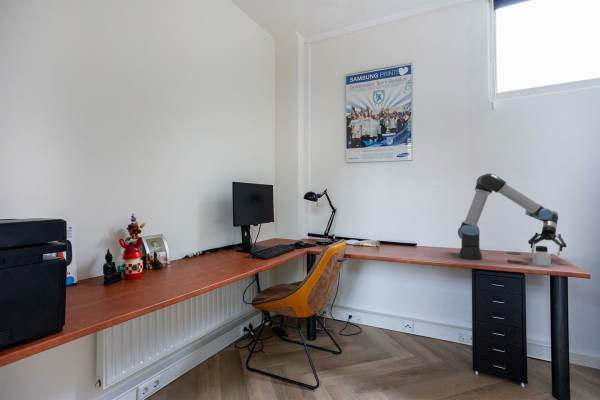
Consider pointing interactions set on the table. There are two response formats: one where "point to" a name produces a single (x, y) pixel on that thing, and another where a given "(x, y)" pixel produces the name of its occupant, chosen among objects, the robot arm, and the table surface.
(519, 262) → the walnut stop
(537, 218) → the robot arm
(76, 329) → the table surface
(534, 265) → the grey mat
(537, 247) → the medicine bottle
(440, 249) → the table surface
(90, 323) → the table surface
